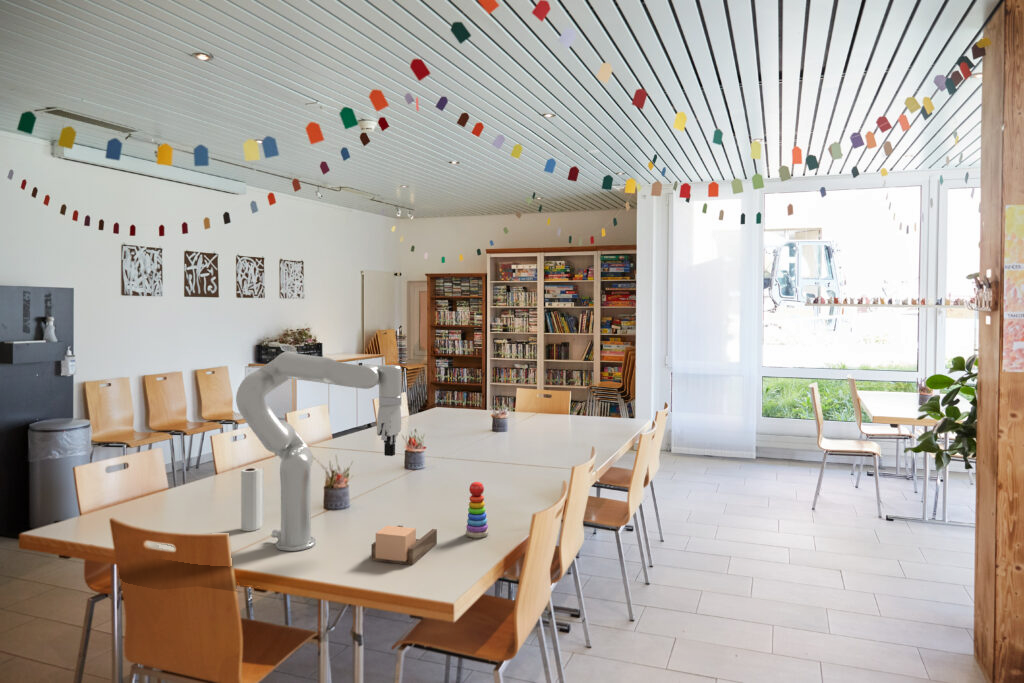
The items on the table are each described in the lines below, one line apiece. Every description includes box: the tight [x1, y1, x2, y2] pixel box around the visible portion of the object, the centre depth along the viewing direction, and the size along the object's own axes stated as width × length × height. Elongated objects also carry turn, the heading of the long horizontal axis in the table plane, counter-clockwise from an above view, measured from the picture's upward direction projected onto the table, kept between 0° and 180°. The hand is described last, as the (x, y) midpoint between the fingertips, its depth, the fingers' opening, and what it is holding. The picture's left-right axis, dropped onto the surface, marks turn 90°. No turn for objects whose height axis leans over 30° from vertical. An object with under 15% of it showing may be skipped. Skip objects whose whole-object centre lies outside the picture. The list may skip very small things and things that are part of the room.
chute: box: [370, 525, 438, 566], centre depth 221 cm, size 14×20×5 cm
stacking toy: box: [465, 481, 489, 539], centre depth 238 cm, size 8×8×19 cm
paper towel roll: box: [240, 467, 265, 532], centre depth 241 cm, size 7×6×21 cm
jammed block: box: [375, 525, 417, 561], centre depth 213 cm, size 10×8×8 cm
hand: (389, 455), depth 231 cm, fingers closed
